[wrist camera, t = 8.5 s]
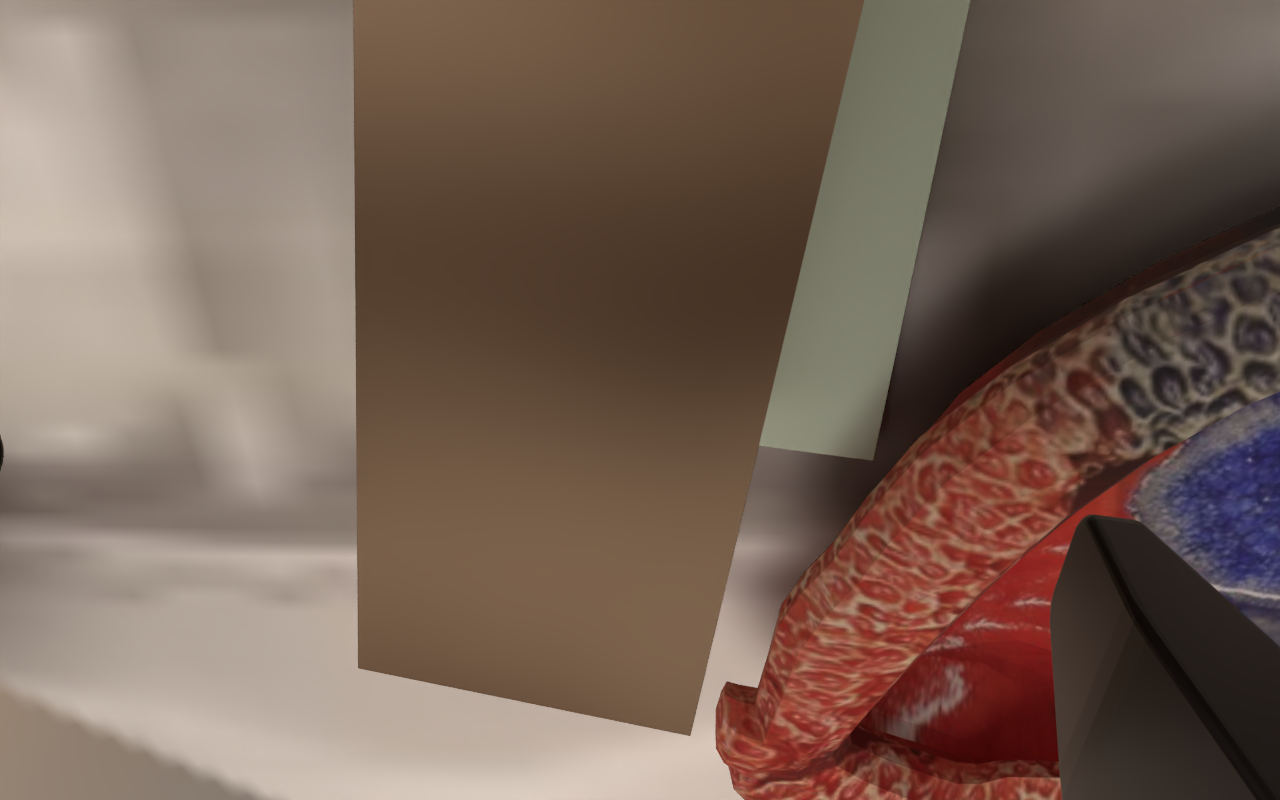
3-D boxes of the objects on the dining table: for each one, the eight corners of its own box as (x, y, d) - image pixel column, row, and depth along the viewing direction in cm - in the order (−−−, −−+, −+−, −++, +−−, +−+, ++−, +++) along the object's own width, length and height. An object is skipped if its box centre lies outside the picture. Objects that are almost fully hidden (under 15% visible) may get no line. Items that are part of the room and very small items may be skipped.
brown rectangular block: (721, 503, 19) (690, 736, 15) (460, 452, 19) (358, 668, 15) (908, -343, 13) (945, -345, 8) (508, -406, 13) (349, -438, 9)
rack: (872, 436, 23) (878, 563, 19) (429, 380, 23) (365, 493, 20) (1054, -441, 15) (1114, -469, 12) (384, -481, 16) (271, -518, 12)
